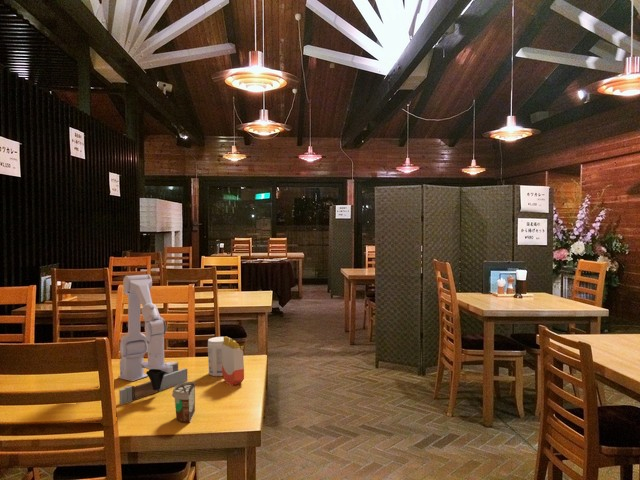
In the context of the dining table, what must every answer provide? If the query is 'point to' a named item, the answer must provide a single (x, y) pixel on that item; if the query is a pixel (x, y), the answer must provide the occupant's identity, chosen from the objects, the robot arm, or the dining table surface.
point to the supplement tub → (215, 355)
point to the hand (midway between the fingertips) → (156, 389)
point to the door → (142, 390)
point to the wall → (166, 383)
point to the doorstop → (175, 366)
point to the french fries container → (232, 362)
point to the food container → (184, 401)
